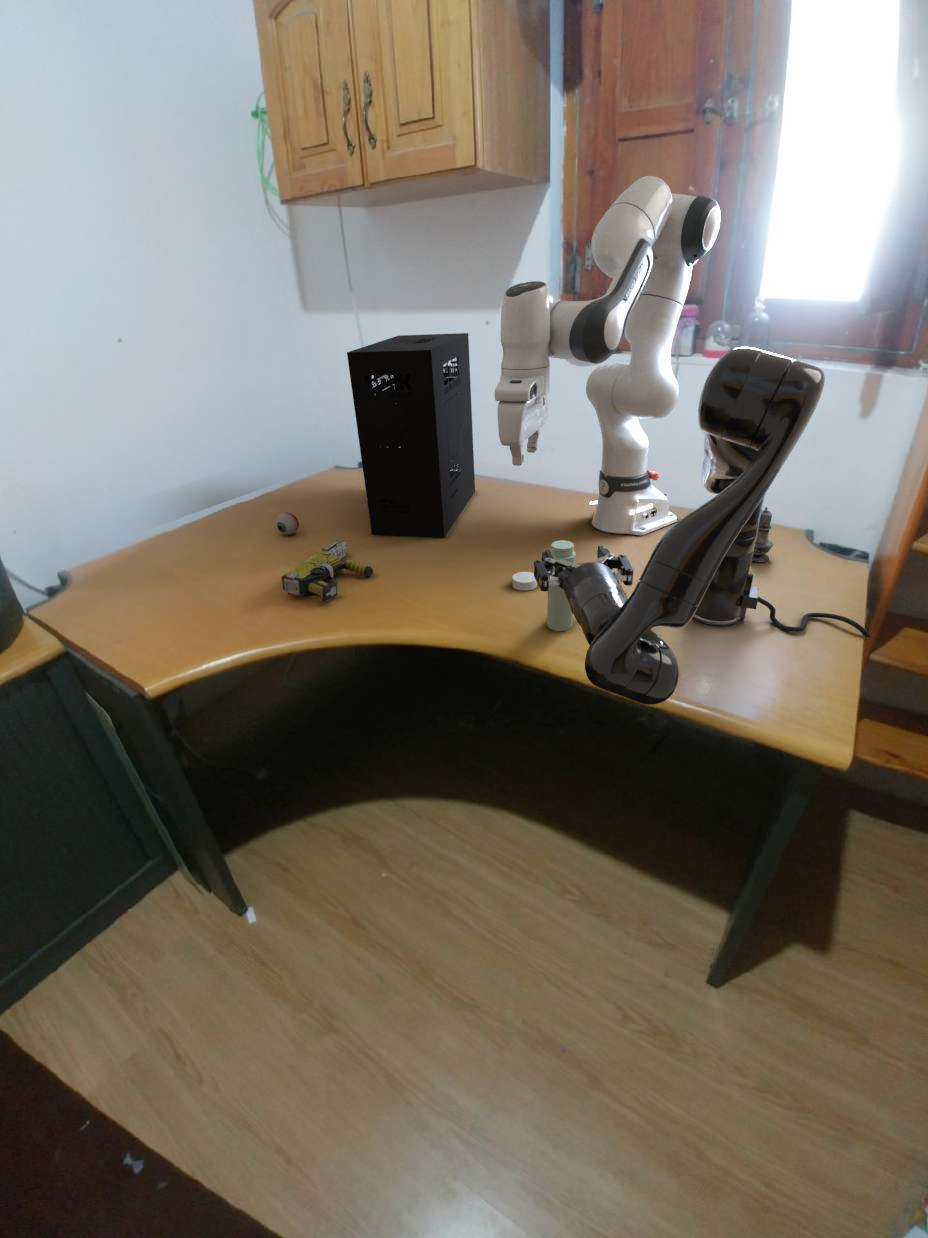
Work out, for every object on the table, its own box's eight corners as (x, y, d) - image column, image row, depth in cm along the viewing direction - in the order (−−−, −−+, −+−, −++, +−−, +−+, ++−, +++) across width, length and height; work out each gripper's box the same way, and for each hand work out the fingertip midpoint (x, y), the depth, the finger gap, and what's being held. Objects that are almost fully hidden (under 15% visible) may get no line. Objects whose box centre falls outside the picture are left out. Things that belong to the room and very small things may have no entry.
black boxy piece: (444, 537, 157) (431, 349, 135) (371, 534, 162) (346, 352, 139) (475, 491, 189) (468, 332, 166) (413, 489, 193) (398, 335, 171)
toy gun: (389, 548, 145) (334, 537, 149) (339, 588, 125) (277, 575, 129) (389, 566, 147) (335, 555, 151) (340, 608, 127) (279, 595, 131)
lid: (540, 588, 130) (540, 580, 129) (516, 592, 129) (516, 584, 128) (532, 578, 134) (532, 570, 133) (509, 581, 133) (509, 573, 132)
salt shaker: (772, 562, 134) (784, 511, 128) (744, 561, 136) (754, 511, 130) (766, 552, 139) (777, 502, 133) (739, 551, 140) (749, 501, 134)
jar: (554, 633, 114) (556, 551, 105) (542, 621, 118) (544, 542, 109) (577, 627, 115) (581, 546, 107) (564, 616, 119) (567, 537, 111)
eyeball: (273, 537, 164) (268, 516, 161) (287, 528, 169) (282, 508, 166) (291, 539, 161) (286, 518, 158) (305, 530, 166) (301, 510, 163)
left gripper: (525, 373, 120) (525, 443, 127) (490, 392, 104) (493, 471, 111) (556, 374, 118) (554, 445, 125) (526, 393, 102) (525, 473, 109)
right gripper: (651, 571, 82) (618, 527, 96) (546, 579, 81) (529, 533, 95) (645, 619, 85) (615, 570, 99) (545, 626, 85) (529, 576, 99)
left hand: (525, 457), depth 118 cm, fingers open, 8 cm apart
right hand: (573, 552), depth 97 cm, fingers open, 8 cm apart
